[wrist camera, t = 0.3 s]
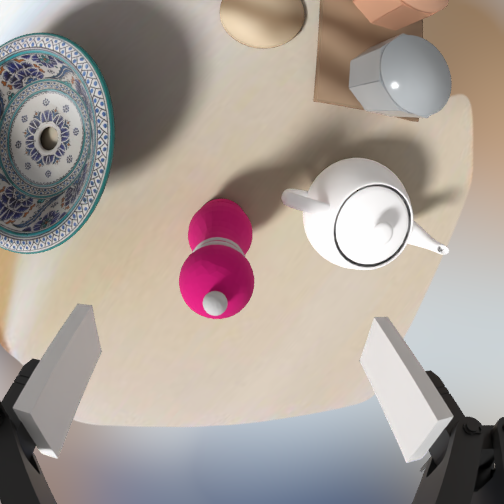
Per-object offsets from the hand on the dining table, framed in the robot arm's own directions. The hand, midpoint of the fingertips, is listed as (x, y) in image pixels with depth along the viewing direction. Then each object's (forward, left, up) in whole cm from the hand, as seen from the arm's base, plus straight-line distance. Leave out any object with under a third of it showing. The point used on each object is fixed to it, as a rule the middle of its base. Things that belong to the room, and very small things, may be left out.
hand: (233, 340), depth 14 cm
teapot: (0, +16, -28) cm, 32 cm away
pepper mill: (+3, -1, -28) cm, 28 cm away
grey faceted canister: (-17, +17, -26) cm, 35 cm away
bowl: (-8, -24, -28) cm, 37 cm away
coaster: (-24, +2, -27) cm, 36 cm away
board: (-23, +16, -27) cm, 39 cm away
